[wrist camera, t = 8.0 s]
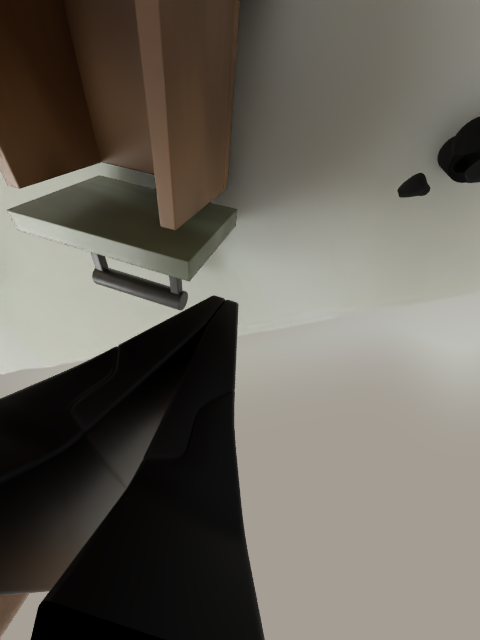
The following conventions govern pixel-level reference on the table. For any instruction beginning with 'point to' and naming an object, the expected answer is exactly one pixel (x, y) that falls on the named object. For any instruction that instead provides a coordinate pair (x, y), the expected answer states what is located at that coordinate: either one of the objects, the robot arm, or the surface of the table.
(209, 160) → the drawer
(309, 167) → the table surface
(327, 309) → the table surface
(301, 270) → the table surface
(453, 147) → the wireless earbuds
